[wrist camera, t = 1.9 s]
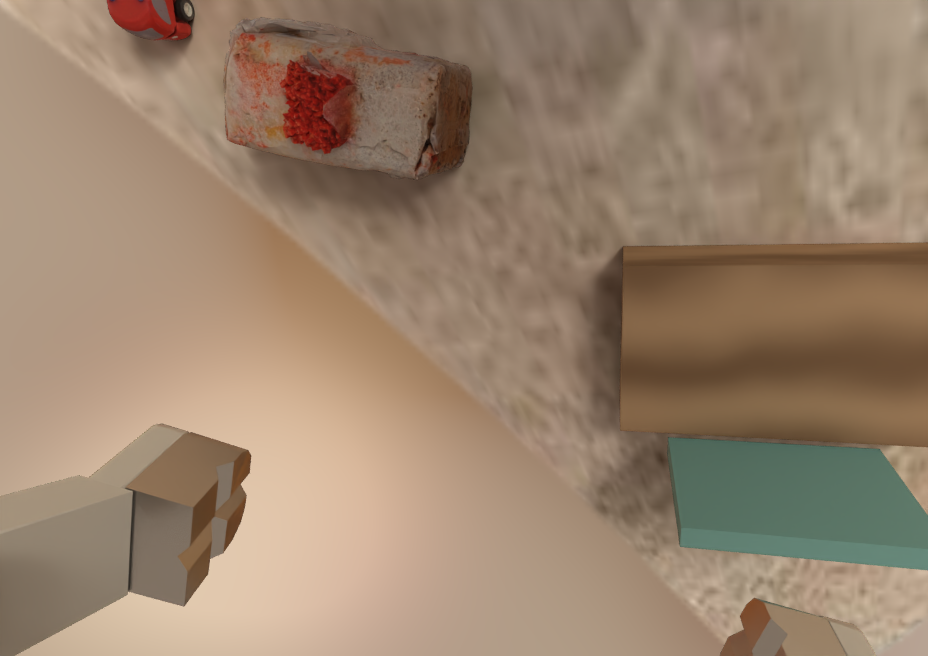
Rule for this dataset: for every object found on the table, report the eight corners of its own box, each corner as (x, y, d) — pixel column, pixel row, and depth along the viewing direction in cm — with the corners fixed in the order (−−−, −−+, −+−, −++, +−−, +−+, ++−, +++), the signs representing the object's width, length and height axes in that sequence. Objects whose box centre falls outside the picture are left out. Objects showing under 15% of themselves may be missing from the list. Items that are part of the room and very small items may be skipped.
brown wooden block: (623, 246, 41) (623, 266, 37) (935, 242, 37) (980, 264, 32) (619, 395, 45) (619, 430, 40) (902, 407, 41) (938, 447, 36)
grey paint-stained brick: (280, 145, 44) (194, 159, 35) (281, 21, 41) (188, 2, 32) (466, 175, 42) (425, 199, 33) (482, 46, 39) (441, 33, 30)
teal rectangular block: (668, 437, 40) (681, 527, 32) (879, 449, 37) (953, 551, 29) (667, 453, 40) (679, 546, 32) (876, 466, 37) (948, 572, 29)
